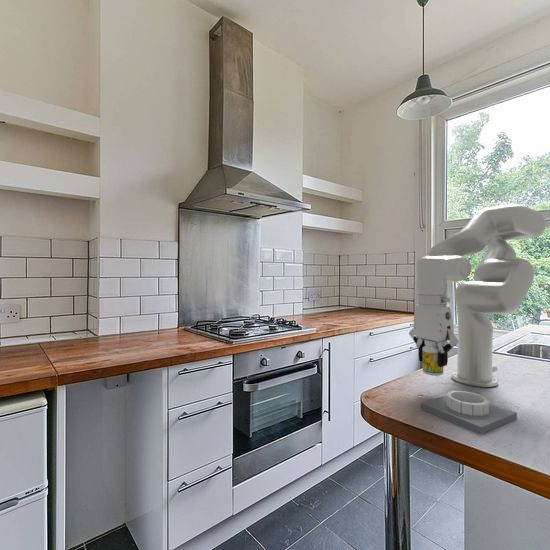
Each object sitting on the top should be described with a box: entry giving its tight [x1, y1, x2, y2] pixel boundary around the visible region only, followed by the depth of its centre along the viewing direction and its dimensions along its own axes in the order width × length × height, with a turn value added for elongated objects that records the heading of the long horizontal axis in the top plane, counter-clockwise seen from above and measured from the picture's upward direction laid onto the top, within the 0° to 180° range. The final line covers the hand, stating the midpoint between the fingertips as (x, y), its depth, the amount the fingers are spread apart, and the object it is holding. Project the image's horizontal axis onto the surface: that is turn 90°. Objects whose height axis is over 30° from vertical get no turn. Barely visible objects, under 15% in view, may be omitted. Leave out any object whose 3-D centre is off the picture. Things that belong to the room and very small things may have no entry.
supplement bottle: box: [422, 339, 444, 377], centre depth 95 cm, size 5×5×10 cm
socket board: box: [419, 390, 518, 435], centre depth 82 cm, size 15×15×4 cm
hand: (432, 362), depth 96 cm, fingers closed on supplement bottle, 5 cm apart
